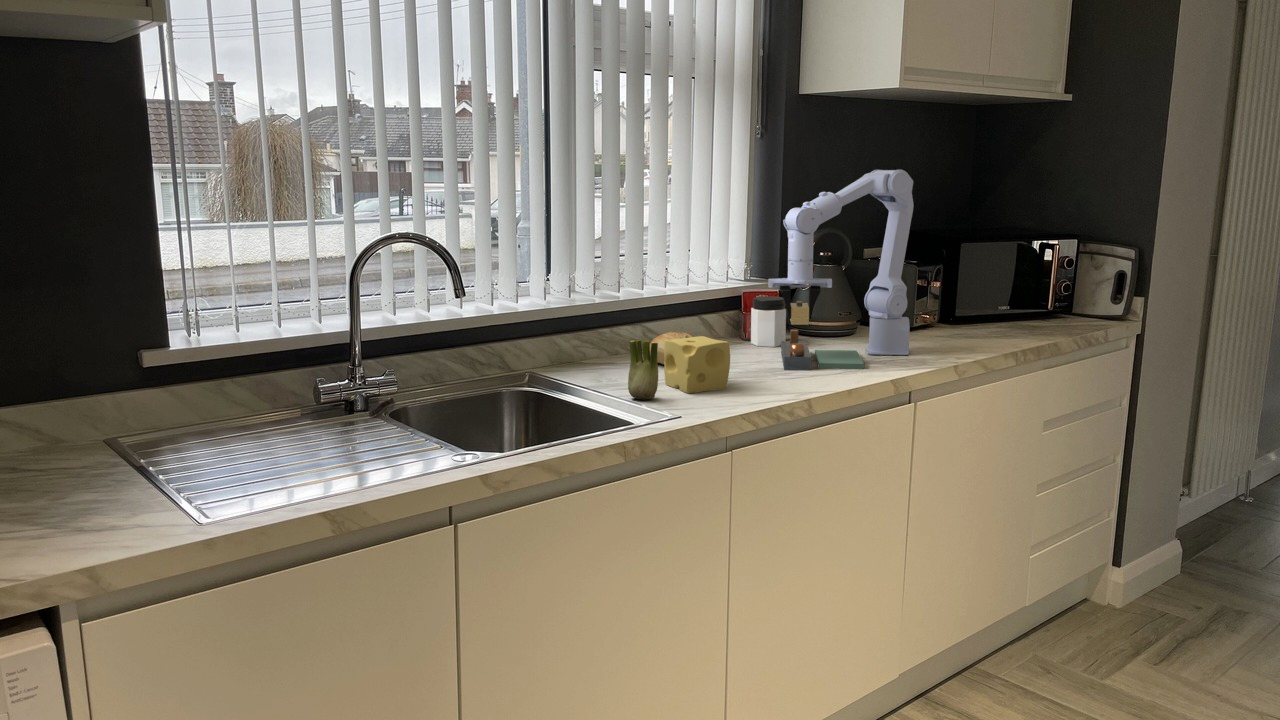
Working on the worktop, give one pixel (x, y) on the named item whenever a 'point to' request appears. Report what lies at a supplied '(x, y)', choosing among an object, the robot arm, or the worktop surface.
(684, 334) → the bread roll
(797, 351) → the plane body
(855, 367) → the mat
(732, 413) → the worktop surface
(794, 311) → the tan block
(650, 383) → the fennel bulb
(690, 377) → the cheese
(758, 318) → the jar
